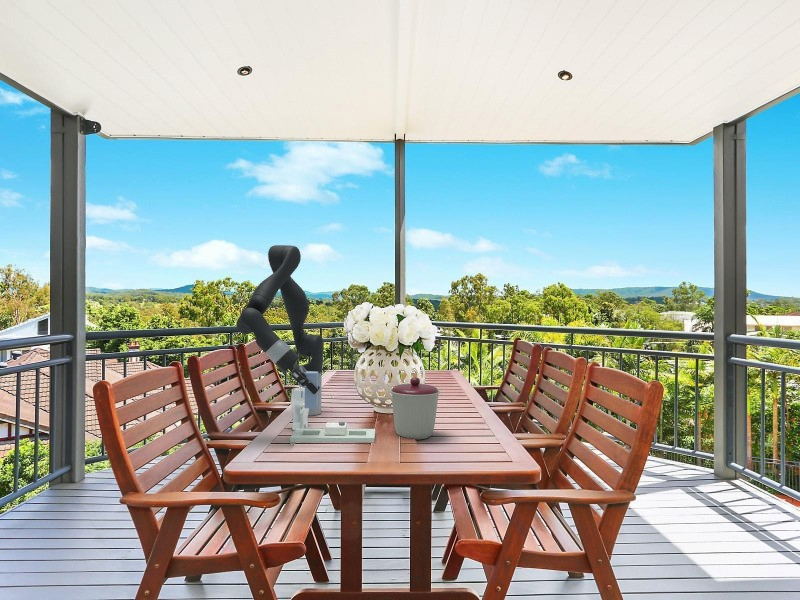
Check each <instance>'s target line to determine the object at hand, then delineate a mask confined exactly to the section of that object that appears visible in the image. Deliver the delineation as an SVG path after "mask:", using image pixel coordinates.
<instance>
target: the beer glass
mask: <svg viewBox="0 0 800 600" xmlns="http://www.w3.org/2000/svg"><path fill="white" fill-rule="evenodd" d="M290 395H291V396H290V401H291V402H290V405H291V411H292V418H293V419H292V427H291V430H292V431H294V430H296V428H309V423H308V418H309V415H308V412H309V408H304V405H305V387H299V386H297V387H293V388H292V389H291V394H290Z"/></svg>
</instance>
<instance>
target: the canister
mask: <svg viewBox="0 0 800 600" xmlns="http://www.w3.org/2000/svg"><path fill="white" fill-rule="evenodd" d="M409 381H410V383H403V384H402V383H401V384H397V385H395V386H393V387H392V388H390V389H389V393H391V402H392V403H391V404H392V414H393V423H394V424H393V425H394V431H395V433H396V435H398V436H399V437H402V438H407V439H415V440H419V441H420V440H425V439H428V438H430V437H432V435H433V433H434V430H435V424H436V418H437V411H438V410H437V409H438V402H439V394H441V390H440V389H438V387H436V386H434V385H431V384H425V383H424V384H423V383H421V379H420V378H419V377H411V379H410V380H409Z"/></svg>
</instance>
